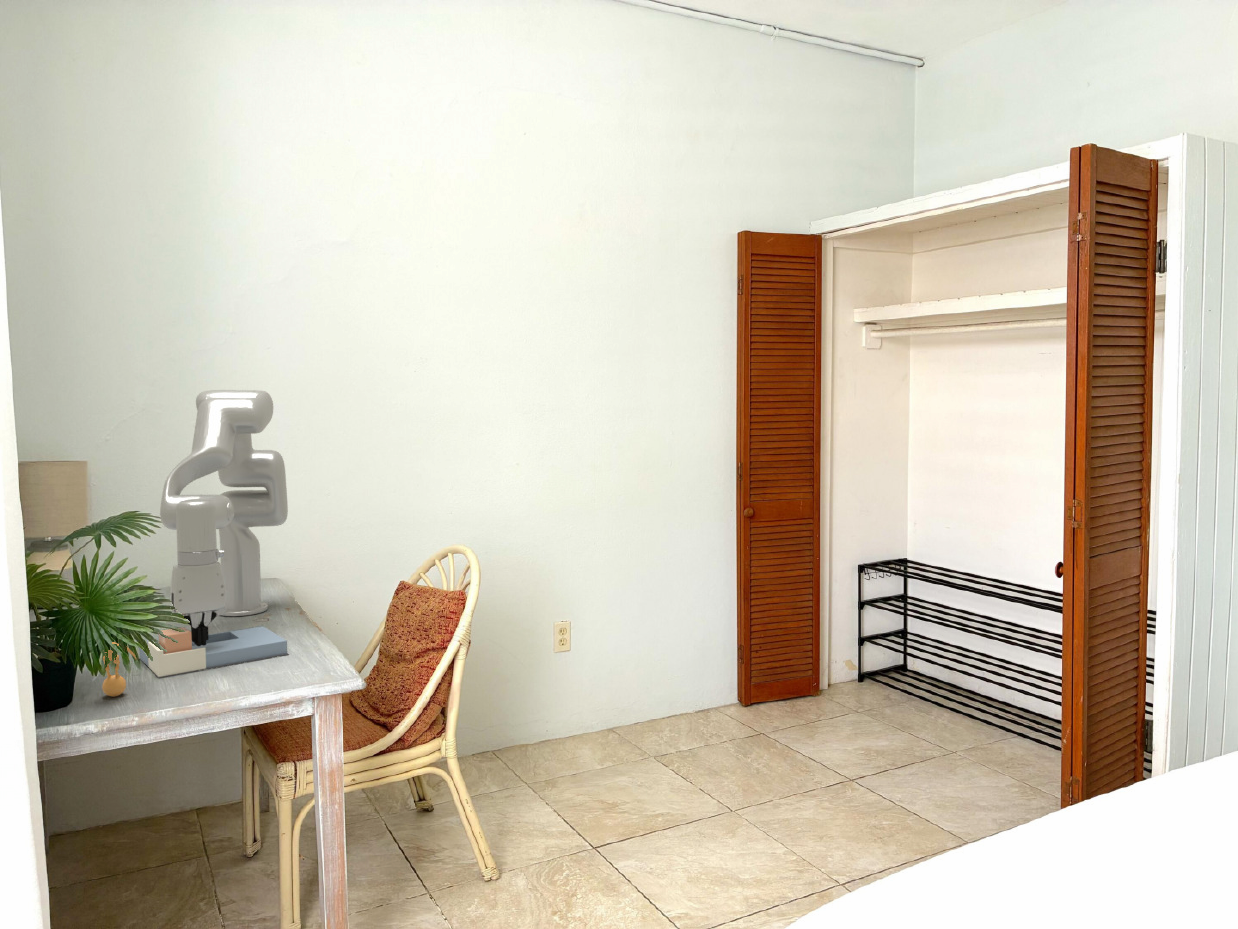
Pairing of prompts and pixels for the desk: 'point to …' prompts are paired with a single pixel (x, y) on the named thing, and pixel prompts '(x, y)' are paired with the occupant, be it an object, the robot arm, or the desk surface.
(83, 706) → the desk surface
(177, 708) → the desk surface
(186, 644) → the cube
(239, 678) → the desk surface
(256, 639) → the slotted holder block
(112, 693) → the figurine
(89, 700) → the desk surface
